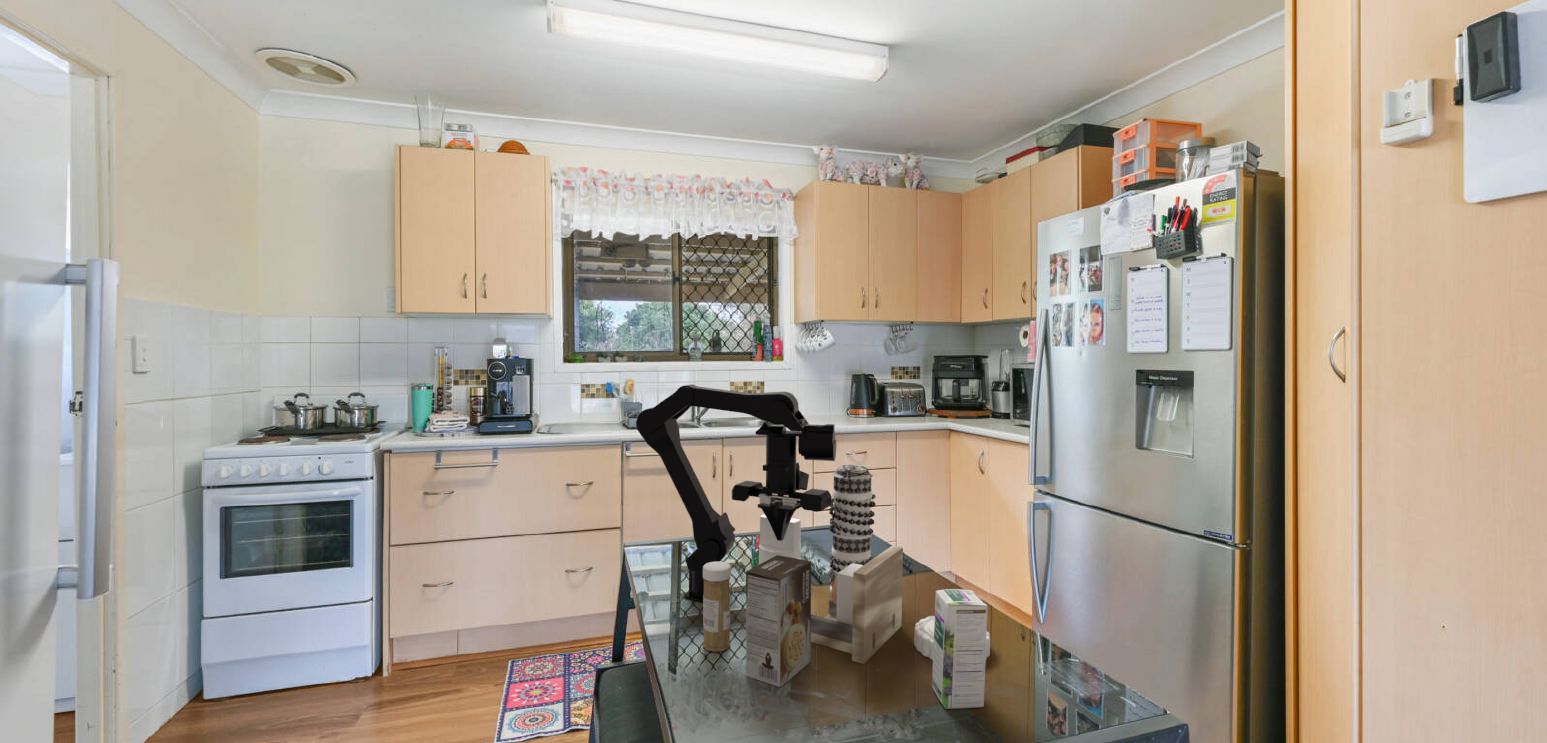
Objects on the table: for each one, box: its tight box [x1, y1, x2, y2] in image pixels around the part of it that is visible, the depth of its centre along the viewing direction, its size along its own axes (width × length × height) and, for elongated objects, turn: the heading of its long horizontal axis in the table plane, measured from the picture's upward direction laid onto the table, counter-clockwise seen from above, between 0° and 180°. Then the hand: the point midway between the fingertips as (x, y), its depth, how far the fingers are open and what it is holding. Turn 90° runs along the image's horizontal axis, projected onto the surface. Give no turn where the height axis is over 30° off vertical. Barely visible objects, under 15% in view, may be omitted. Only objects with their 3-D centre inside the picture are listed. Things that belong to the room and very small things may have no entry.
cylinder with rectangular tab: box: [758, 513, 802, 565], centre depth 139 cm, size 9×9×12 cm
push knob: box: [831, 563, 863, 625], centre depth 110 cm, size 6×6×10 cm
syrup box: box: [931, 588, 989, 710], centre depth 91 cm, size 6×6×14 cm
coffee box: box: [745, 555, 812, 688], centre depth 98 cm, size 9×6×16 cm
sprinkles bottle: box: [702, 561, 732, 653], centre depth 105 cm, size 5×5×14 cm
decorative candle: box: [828, 464, 877, 594], centre depth 129 cm, size 9×9×25 cm
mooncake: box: [913, 615, 991, 661], centre depth 106 cm, size 12×12×4 cm
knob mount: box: [811, 545, 904, 665], centre depth 110 cm, size 12×16×14 cm
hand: (780, 540), depth 123 cm, fingers closed
